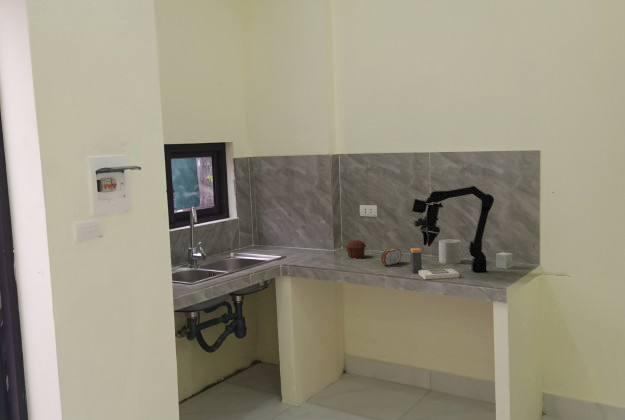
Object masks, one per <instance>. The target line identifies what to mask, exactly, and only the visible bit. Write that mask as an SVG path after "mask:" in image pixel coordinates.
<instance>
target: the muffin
mask: <svg viewBox="0 0 625 420" xmlns="http://www.w3.org/2000/svg"><path fill="white" fill-rule="evenodd" d="M345 246H346V251H347V257H348V258H349V257H350V258H349V259H354V258H356V259H363V258H364V256H365V250H366V247H367V245H366V243H365V242H364V241H362V240H361V239H352V240H350V241H348V242H347V244H346V245H345ZM362 257H363V258H362Z"/></svg>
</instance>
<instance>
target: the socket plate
mask: <svg viewBox="0 0 625 420" xmlns="http://www.w3.org/2000/svg"><path fill="white" fill-rule="evenodd" d="M418 275H419V276H420V277H422V278H423V279H424V280H434V279H435V280H436V279H437V280H439V279H454V278H460V272H458V271H457V270H455V269H453V268H438V269H435V268H434V269H422V270H419V273H418Z"/></svg>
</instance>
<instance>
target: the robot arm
mask: <svg viewBox="0 0 625 420" xmlns="http://www.w3.org/2000/svg"><path fill="white" fill-rule="evenodd" d="M468 195H473V196H475V197H477V198H478V199H479V200H480V206H479V207H480V209H479V211H480V212H479V216H478V221H477V223H476V229H475V233H474V237H473V239H469V243H468V246H467V248H468V253H469V254H470V256H471V257H473V258H472V261H471V263H470V264H471V265H470V266H471V272H474V273H475V274H476V273H488V270H487V256H486V254H485V253H484V252H483V250H482V249H483V237H484V233H485V229H486V224H487V220H488V215H489V212H490V211H491V209H492V207H493V204H494V201H495V199H494V197H493V195H491V194H490V193H488V192H486V193H485V192H484V191H482V190H481V189H479V188H478V187H476V186H475V185H469V186H465V187H460V188H455V189H448V190H444V189H443V190H442V189H441V190H440V189H438V190H433V191H432V190H431V192H430V193H429V196H428V197H427V198H425V200H424V199H423V200H422V199H418V198H414V202H413V204H412V210H411V212H412V213H418V214H424V213H426V215H425V216H424V218H422V217H419V218H417V220H413V226H414V228H418V227H419V232H420V233H421V234H422V242H423V243H422V244H423V246H427V247H431V245H433V243H434V241H435V239H436V238H437V236H438V235H439V234H440V232H441V228H440V226H437V222H438V221H439V211H440V208H441V209H443V208H444V206H443V204H442V202H443V201H445V200H448V199H451V198H456V197H462V196H468Z"/></svg>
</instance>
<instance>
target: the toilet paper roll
mask: <svg viewBox="0 0 625 420" xmlns="http://www.w3.org/2000/svg"><path fill="white" fill-rule="evenodd" d="M438 260H439V261H438V262H439V263H440V264H444V265H457V264H461V263H462V241H461V239H456V238H455V239H454V238H453V239H452V238H451V239H450V238H449V239H448V238H447V239H446V238H445V239H440V240H438Z"/></svg>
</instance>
